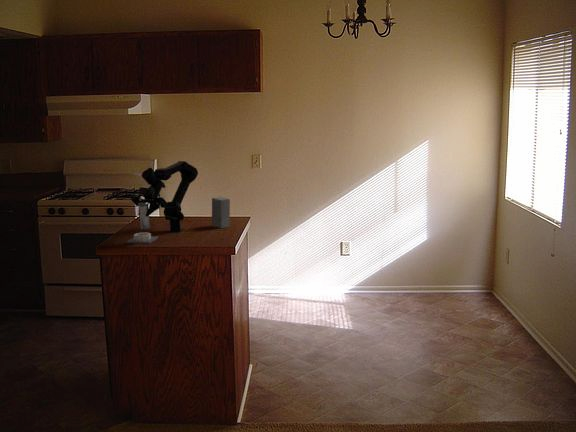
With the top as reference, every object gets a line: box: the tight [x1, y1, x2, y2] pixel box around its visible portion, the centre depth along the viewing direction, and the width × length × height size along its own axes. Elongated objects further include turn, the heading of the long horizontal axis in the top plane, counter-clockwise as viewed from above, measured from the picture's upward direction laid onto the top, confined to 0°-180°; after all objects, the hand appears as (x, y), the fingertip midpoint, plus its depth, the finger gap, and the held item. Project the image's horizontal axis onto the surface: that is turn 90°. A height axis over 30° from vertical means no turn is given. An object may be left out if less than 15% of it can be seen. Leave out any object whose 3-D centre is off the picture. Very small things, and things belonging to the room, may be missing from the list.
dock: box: [126, 232, 159, 244], centre depth 320 cm, size 11×12×3 cm
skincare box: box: [211, 196, 231, 229], centre depth 345 cm, size 8×7×16 cm
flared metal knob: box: [138, 202, 151, 230], centre depth 315 cm, size 5×5×13 cm
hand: (142, 215), depth 314 cm, fingers closed on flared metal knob, 4 cm apart
